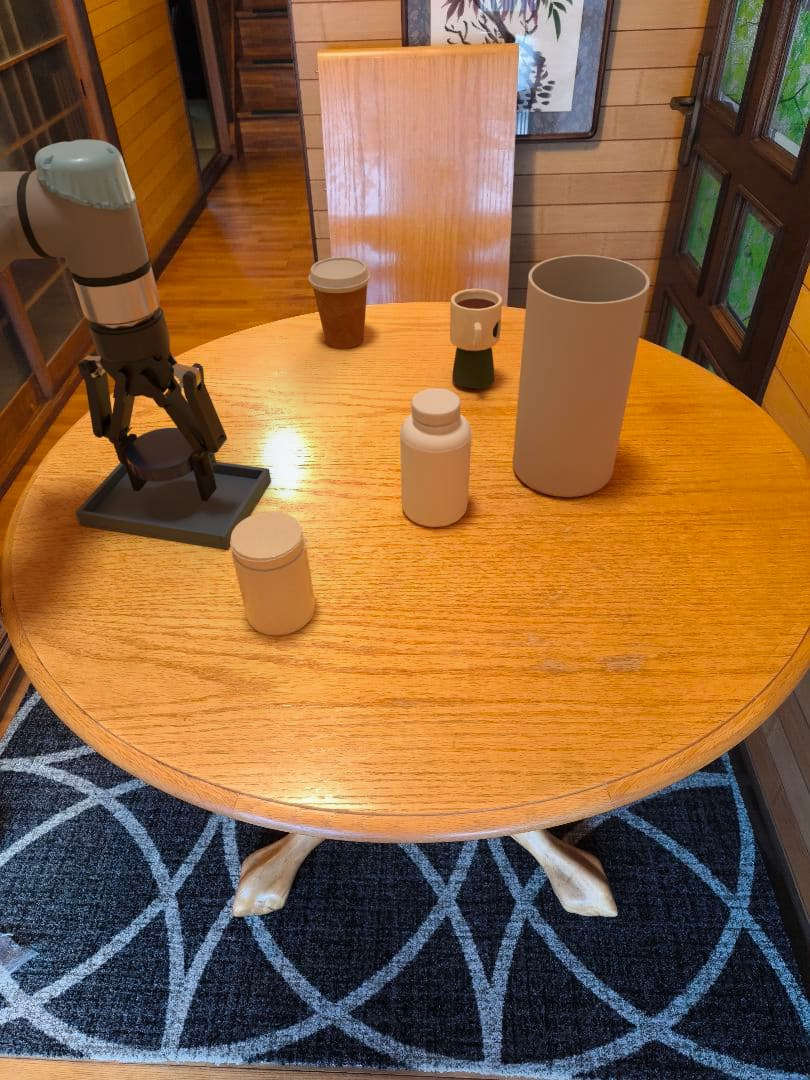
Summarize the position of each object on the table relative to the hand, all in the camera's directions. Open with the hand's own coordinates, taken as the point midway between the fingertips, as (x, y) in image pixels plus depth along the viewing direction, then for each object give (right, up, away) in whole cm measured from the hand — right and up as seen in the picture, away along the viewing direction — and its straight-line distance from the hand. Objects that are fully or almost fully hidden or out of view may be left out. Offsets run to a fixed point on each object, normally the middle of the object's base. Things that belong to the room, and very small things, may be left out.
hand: (175, 489), depth 92 cm
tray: (0, -2, +1) cm, 2 cm away
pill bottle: (+31, -2, 0) cm, 32 cm away
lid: (0, +4, -4) cm, 6 cm away
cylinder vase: (+48, +3, +5) cm, 48 cm away
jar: (+15, -14, -13) cm, 24 cm away
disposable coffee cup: (+18, +26, +32) cm, 46 cm away
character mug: (+38, +17, +21) cm, 47 cm away
